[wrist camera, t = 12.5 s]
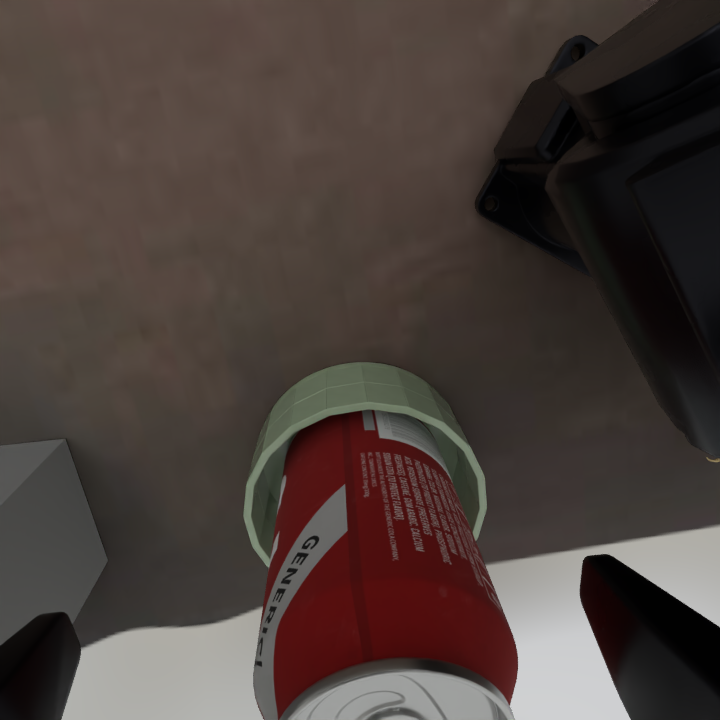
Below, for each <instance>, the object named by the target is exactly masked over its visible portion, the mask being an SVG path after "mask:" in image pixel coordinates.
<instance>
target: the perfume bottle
mask: <svg viewBox="0 0 720 720" xmlns="http://www.w3.org/2000/svg"><path fill="white" fill-rule="evenodd" d="M107 562H108V559H107V556H106V553H105V551H104V548H103V545H102V542H101V539H100V536H99V533H98V530H97V528H96V525H95V522H94V519H93V516H92V513H91V510H90V508H89V505H88V502H87V499H86V496H85V493H84V490H83V488H82V485H81V482H80V479H79V476H78V473H77V470H76V468H75V465H74V462H73V459H72V456H71V453H70V450H69V447H68V445H67V442H66V439H57V440H47V441H38V442H29V443H20V444H10V445H1V446H0V645H1V644H3V643H4V642H5V641H6V640H8V639H9V638H10V637H11V636H13V635H14V634H15V633H16V632H17V631H19V630H20V629H21V628H22V627H24V626H25V625H26V624H27V623H29V622H30V621H31V620H32V619H34V618H35V617H36V616H38V615H40V614H43V613H52V612H65V613H66V614H68V616H69V618H70V620H71V623H72V624H73V623H74V621H75V619H76V617H77V616H78V614H79V612H80V610H81V608H82V607H83V605H84V603H85V601H86V599H87V598H88V596H89V594H90V592H91V590H92V589H93V587H94V585H95V583H96V581H97V580H98V578H99V576H100V574H101V573H102V571H103V569H104V567H105V565H106V564H107Z"/></svg>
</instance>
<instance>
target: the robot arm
mask: <svg viewBox="0 0 720 720" xmlns="http://www.w3.org/2000/svg"><path fill="white" fill-rule="evenodd" d="M574 46H575V47H577V48H578V49H579V50H580V57H579V59H578V60H577V61H575V60H573V59H572V57H571V50H572V48H573V47H574ZM494 153H495V158H496V159H497V162H496V164H495V166H494V167H493V169H492V171H491V173H490V175H489V176H488V178H487V180H486V182H485V183H484V185H483V187H482V189H481V191H480V192H479V194H478V196H477V198H476V201H475V209H476V211H477V213H478V214H479V215H481V216H482V217H484V218H486V219H487V220H489V221H491V222H493V223H495V224H496V225H498V226H500V227H502V228H503V229H505V230H507V231H509V232H511V233H512V234H514V235H516V236H518V237H520V238H521V239H523V240H525V241H527V242H528V243H530V244H532V245H534V246H536V247H537V248H539V249H541V250H543V251H544V252H546V253H548V254H550V255H552V256H553V257H555V258H557V259H559V260H560V261H562V262H564V263H566V264H568V265H569V266H571V267H573V268H575V269H576V270H578V271H580V272H582V273H584V274H585V275H587V276H589V277H591V278H592V279H593V281H594V283H595V284H596V286H597V288H598V290H599V292H600V294H601V296H602V298H603V300H604V301H605V303H606V305H607V307H608V309H609V311H610V313H611V315H612V316H613V318H614V320H615V322H616V324H617V326H618V328H619V330H620V332H621V333H622V335H623V337H624V339H625V341H626V343H627V345H628V347H629V348H630V350H631V352H632V354H633V356H634V358H635V360H636V362H637V364H638V365H639V367H640V369H641V371H642V373H643V375H644V377H645V379H646V381H647V382H648V384H649V386H650V388H651V390H652V392H653V394H654V396H655V397H656V399H657V401H658V403H659V405H660V406H661V408H662V409H663V410H664V412H665V413H666V414H667V416H668V417H669V418H670V419H671V421H672V422H673V423H674V425H675V426H676V427H677V428H678V429H679V430H680V431H682V432H683V433H684V434H685V436H686V438H687V440H688V441H689V442H690V444H691V445H693V446H695V447H697V448H699V449H701V450H703V451H705V452H706V453H708V454H710V455H712V456H714V457H716V458H719V459H720V0H659V1H658V2H657V3H655V4H654V5H653V6H651V7H650V8H649V9H647V10H646V11H645V12H643V13H642V14H641V15H639V16H638V17H637V18H635V19H634V20H632V21H631V22H630V23H628V24H627V25H626V26H624V27H623V28H622V29H620V30H619V31H618V32H616V33H615V34H614V35H612V36H611V37H610V38H608V39H607V40H605V41H604V42H603V43H601V44H600V45H598V44H596V43H595V42H593V41H592V40H591V39H589V38H588V37H586V36H583V35H578V36H575V37H573V38H571V39H569V40H568V41H566V42H565V43H564V44H563V45H562V47H561V48H560V50H559V52H558V53H557V55H556V57H555V59H554V61H553V62H552V64H551V66H550V68H549V69H548V71H547V73H546V75H545V77H543V78H540V79H538V80H536V81H533V82H532V83H531V84H530V86H529V87H528V89H527V91H526V93H525V95H524V96H523V98H522V100H521V102H520V104H519V105H518V107H517V109H516V111H515V113H514V114H513V116H512V118H511V120H510V122H509V123H508V125H507V127H506V129H505V131H504V132H503V134H502V136H501V138H500V140H499V141H498V143H497V145H496V147H495V149H494ZM490 197H492V198H493V199H494V202H495V204H494V207H493V208H492V209H491V210H488V211H487V210H486V209H485V206H484V203H485V201H486V200H487V198H490ZM580 598H581V603H582V606H583V608H584V611H585V613H586V615H587V618H588V621H589V623H590V626H591V628H592V631H593V633H594V636H595V638H596V641H597V643H598V646H599V648H600V650H601V653H602V655H603V658H604V660H605V663H606V665H607V668H608V670H609V673H610V675H611V678H612V680H613V683H614V685H615V687H616V690H617V692H618V694H619V696H620V699H621V700H622V702H623V705H624V707H625V709H626V711H627V713H628V715H629V717H630V719H631V720H720V627H719V626H717V625H716V624H714V623H713V622H711V621H710V620H708V619H707V618H705V617H703V616H702V615H701V614H699V613H697V612H696V611H694V610H693V609H691V608H690V607H688V606H687V605H685V604H683V603H682V602H681V601H679V600H678V599H676V598H675V597H673V596H672V595H670V594H669V593H667V592H666V591H664V590H663V589H661V588H660V587H658V586H657V585H655V584H654V583H652V582H650V581H649V580H648V579H646V578H644V577H643V576H641V575H640V574H638V573H637V572H635V571H634V570H632V569H631V568H629V567H628V566H626V565H625V564H623V563H622V562H620V561H619V560H617V559H616V558H614V557H612V556H610V555H607V554H601V555H592V556H587V557H585V558H584V560H583V565H582V575H581V583H580ZM80 655H81V648H80V643H79V640H78V638H77V635H76V633H75V630H74V628H73V625H72V623H71V620H70V618H69V616H68V614H66V613H65V612H52V613H43V614H40V615H38V616H36V617H35V618H34V619H32V620H31V621H30V622H29V623H27V624H26V625H25V626H24V627H22V628H21V629H20V630H19V631H17V632H16V633H15V634H14V635H13V636H11V637H10V638H9V639H8V640H6V641H5V642H4V643H3V644H1V645H0V720H61V719H62V716H63V712H64V709H65V706H66V703H67V699H68V696H69V693H70V690H71V686H72V683H73V680H74V677H75V673H76V670H77V667H78V664H79V660H80Z"/></svg>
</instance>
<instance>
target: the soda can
mask: <svg viewBox="0 0 720 720" xmlns="http://www.w3.org/2000/svg"><path fill="white" fill-rule="evenodd" d="M517 671H518V656H517V649H516V644H515V641H514V638H513V635H512V632H511V629H510V627H509V624H508V622H507V619H506V617H505V614H504V612H503V609H502V607H501V604H500V602H499V599H498V597H497V594H496V592H495V589H494V586H493V584H492V581H491V579H490V576H489V574H488V571H487V569H486V566H485V564H484V561H483V559H482V556H481V554H480V551H479V548H478V546H477V543H476V541H475V538H474V536H473V533H472V531H471V528H470V526H469V523H468V521H467V518H466V516H465V513H464V510H463V508H462V505H461V503H460V500H459V498H458V495H457V493H456V490H455V488H454V485H453V483H452V480H451V478H450V475H449V472H448V470H447V467H446V465H445V462H444V460H443V457H442V455H441V452H440V450H439V447H438V445H437V442H436V440H435V438H434V436H433V434H432V433H431V431H430V430H429V428H428V427H427V426H426V425H425V424H424V423H423V422H422V421H421V420H419V419H416V418H414V417H412V416H410V415H407V414H403V413H394V412H386V411H378V410H369V409H367V410H361V411H355V412H349V413H343V414H337V415H331V416H328V417H326V418H324V419H322V420H320V421H317V422H315V423H313V424H311V425H309V426H307V427H305V428H303V429H301V430H299V431H298V432H297V433H296V434H295V436H294V437H293V439H292V441H291V443H290V445H289V447H288V450H287V453H286V457H285V463H284V469H283V476H282V483H281V490H280V496H279V503H278V510H277V516H276V523H275V530H274V537H273V543H272V550H271V557H270V564H269V570H268V577H267V584H266V591H265V597H264V604H263V611H262V618H261V624H260V631H259V638H258V645H257V652H256V659H255V665H254V673H253V684H254V692H255V698H256V701H257V704H258V708H259V710H260V712H261V714H262V716H263V719H264V720H515V719H514V716H513V713H512V710H511V708H510V702H511V698H512V695H513V691H514V687H515V683H516V679H517Z"/></svg>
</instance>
